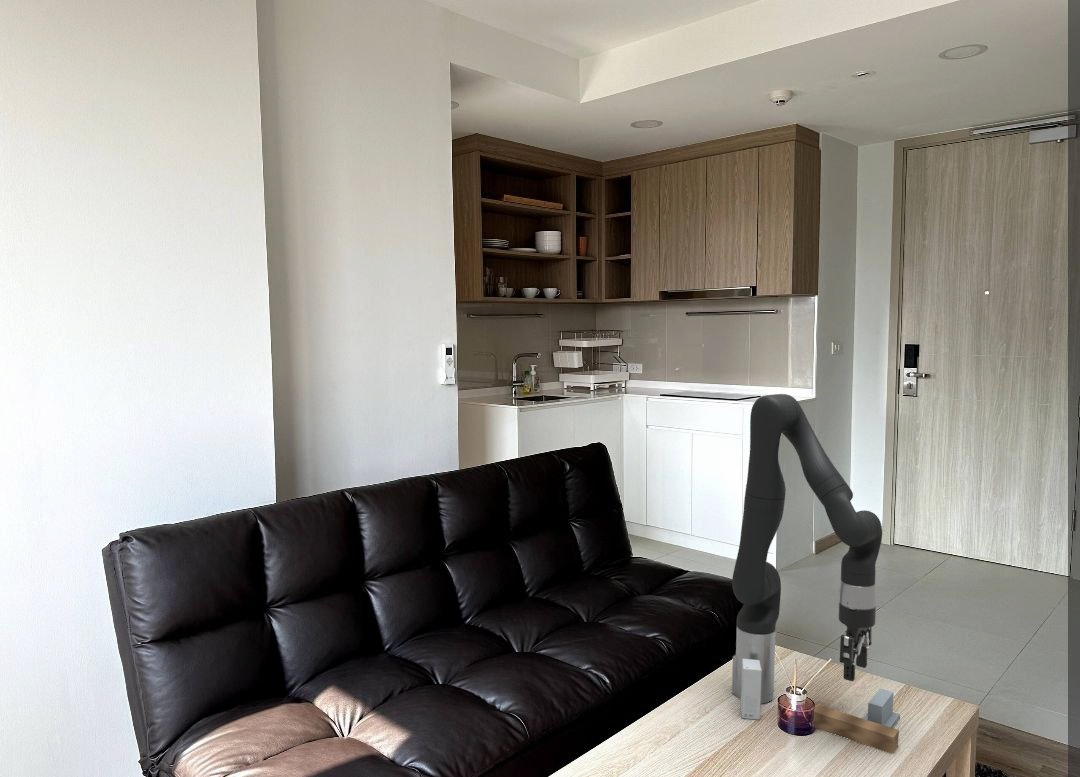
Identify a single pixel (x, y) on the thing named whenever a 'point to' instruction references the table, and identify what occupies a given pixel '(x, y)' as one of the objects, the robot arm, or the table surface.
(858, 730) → the walnut batten
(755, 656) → the robot arm
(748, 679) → the skincare box
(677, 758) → the table surface
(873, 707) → the ridge block
